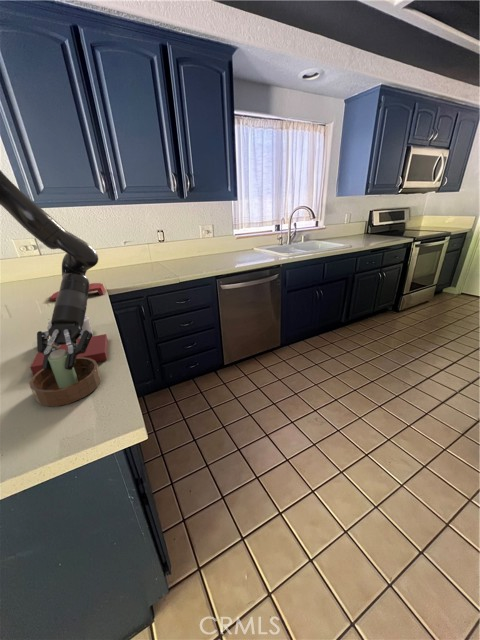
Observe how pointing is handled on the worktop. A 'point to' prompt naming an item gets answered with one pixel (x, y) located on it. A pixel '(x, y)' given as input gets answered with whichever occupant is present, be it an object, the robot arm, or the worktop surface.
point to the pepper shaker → (62, 369)
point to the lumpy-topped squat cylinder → (85, 326)
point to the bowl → (51, 395)
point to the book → (93, 351)
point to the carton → (92, 287)
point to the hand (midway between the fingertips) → (58, 369)
